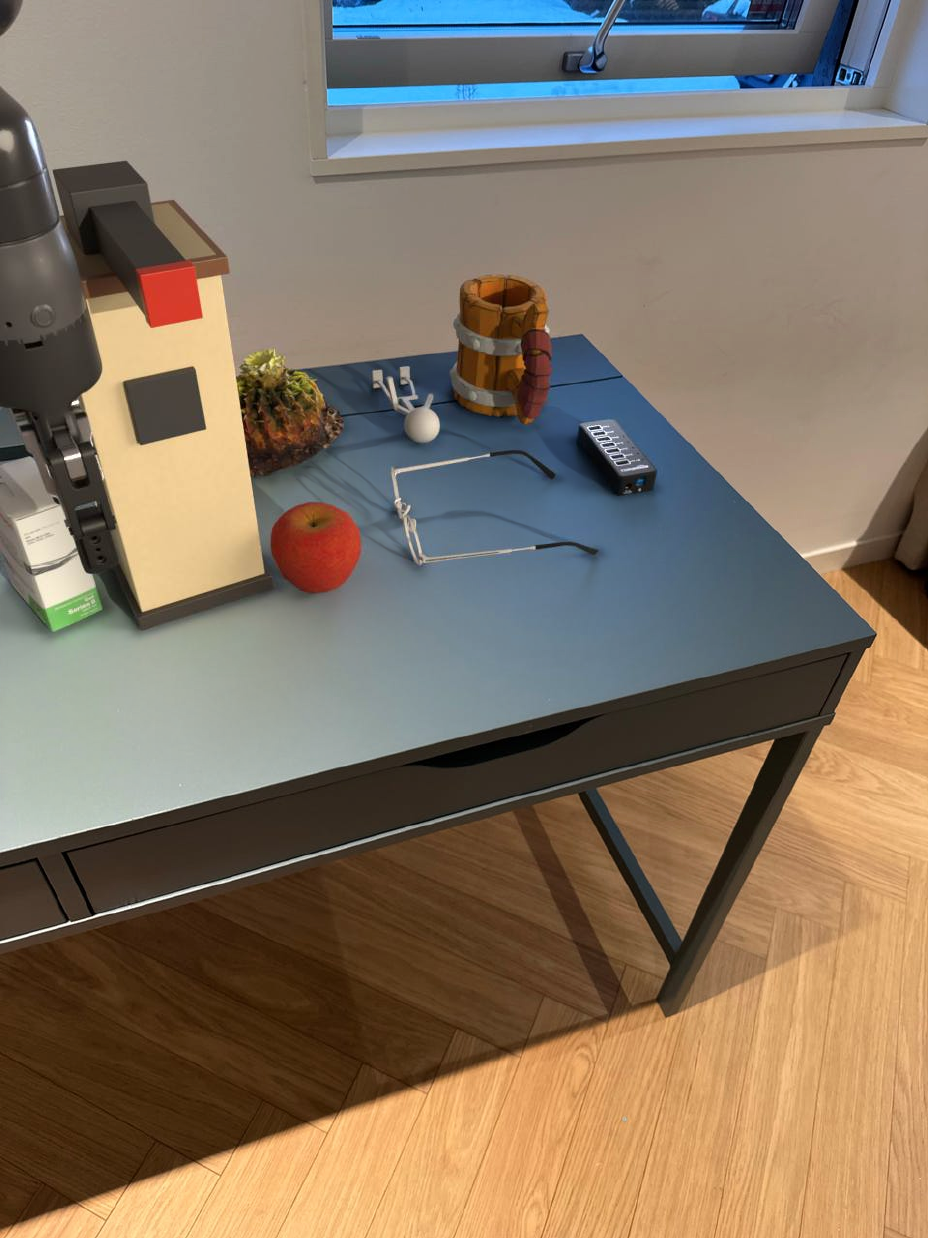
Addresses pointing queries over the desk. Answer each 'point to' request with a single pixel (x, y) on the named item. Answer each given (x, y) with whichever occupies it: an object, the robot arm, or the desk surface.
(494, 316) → the mug
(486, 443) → the desk surface
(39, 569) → the ink box
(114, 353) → the tall tapered bin
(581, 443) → the multiport hub
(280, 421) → the cactus
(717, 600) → the desk surface
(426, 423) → the figurine
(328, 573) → the apple
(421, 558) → the eyeglasses
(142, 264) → the flashlight
